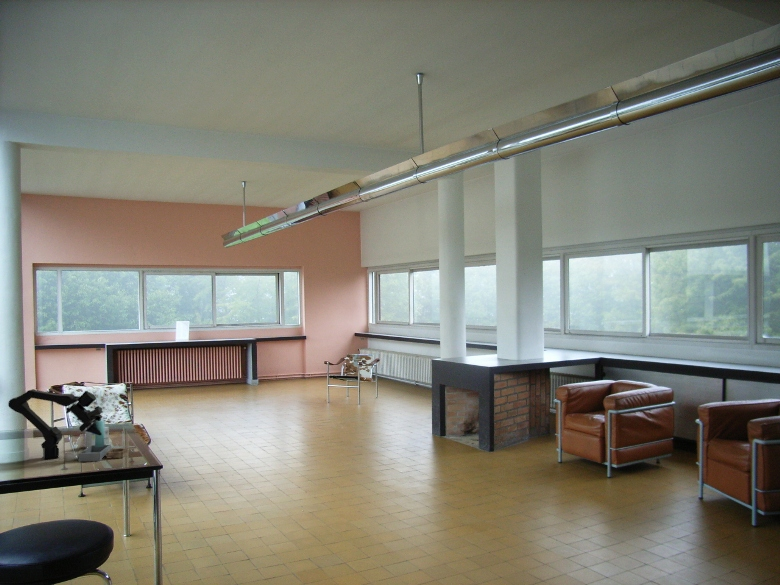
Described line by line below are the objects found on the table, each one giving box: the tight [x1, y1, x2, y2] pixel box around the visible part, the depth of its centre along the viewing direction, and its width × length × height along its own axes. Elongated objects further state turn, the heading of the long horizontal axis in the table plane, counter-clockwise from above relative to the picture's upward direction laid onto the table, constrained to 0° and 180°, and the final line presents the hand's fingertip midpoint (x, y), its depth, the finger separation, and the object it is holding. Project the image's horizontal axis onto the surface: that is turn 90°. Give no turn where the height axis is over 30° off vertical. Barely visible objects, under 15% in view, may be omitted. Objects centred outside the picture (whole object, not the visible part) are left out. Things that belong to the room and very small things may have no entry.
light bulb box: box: [84, 425, 110, 448], centre depth 350 cm, size 11×7×11 cm, turn 146°
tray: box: [78, 444, 112, 462], centre depth 329 cm, size 11×18×4 cm, turn 7°
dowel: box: [95, 420, 106, 447], centre depth 329 cm, size 4×4×13 cm
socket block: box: [106, 447, 129, 459], centre depth 330 cm, size 8×8×3 cm
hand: (102, 433), depth 329 cm, fingers closed on dowel, 4 cm apart
